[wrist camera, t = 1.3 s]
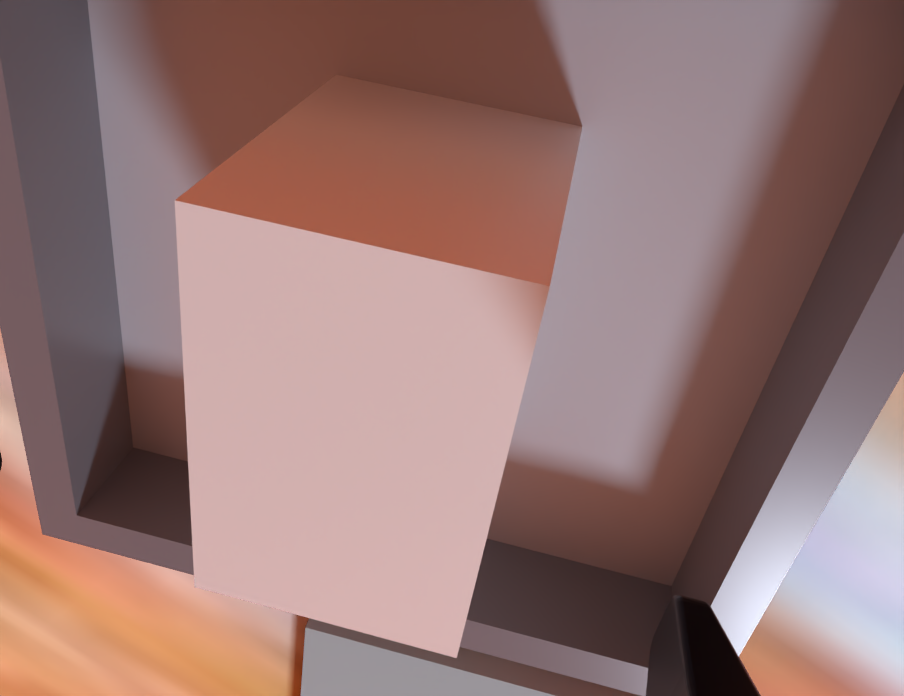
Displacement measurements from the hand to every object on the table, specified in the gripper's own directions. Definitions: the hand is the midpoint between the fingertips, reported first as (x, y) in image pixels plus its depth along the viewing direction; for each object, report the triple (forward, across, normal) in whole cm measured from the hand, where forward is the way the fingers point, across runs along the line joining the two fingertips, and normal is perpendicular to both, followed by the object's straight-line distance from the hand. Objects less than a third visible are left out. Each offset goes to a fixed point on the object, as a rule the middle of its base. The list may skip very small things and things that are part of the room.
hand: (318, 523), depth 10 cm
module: (+7, 0, 0) cm, 7 cm away
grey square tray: (+8, 0, 0) cm, 8 cm away
